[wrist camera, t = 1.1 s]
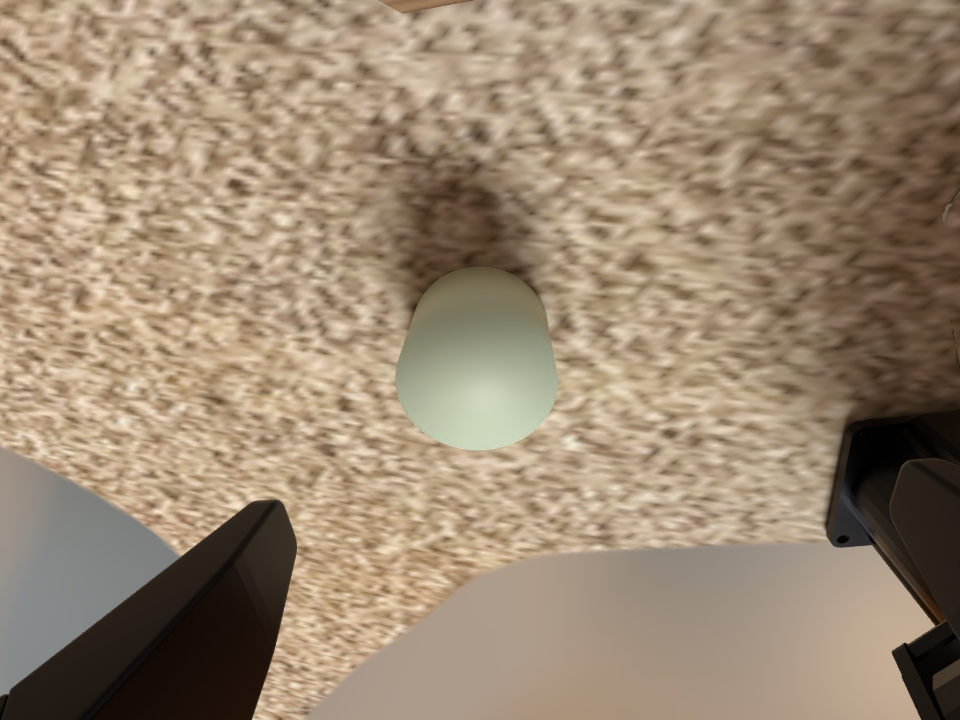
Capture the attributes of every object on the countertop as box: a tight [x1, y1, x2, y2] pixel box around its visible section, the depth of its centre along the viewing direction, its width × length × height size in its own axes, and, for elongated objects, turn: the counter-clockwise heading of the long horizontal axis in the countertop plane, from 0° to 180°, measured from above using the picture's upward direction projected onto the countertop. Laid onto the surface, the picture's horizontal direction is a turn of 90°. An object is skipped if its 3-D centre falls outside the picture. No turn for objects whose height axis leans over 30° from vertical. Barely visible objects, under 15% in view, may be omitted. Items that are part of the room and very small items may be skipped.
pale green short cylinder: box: [396, 266, 558, 450], centre depth 19 cm, size 5×5×4 cm
